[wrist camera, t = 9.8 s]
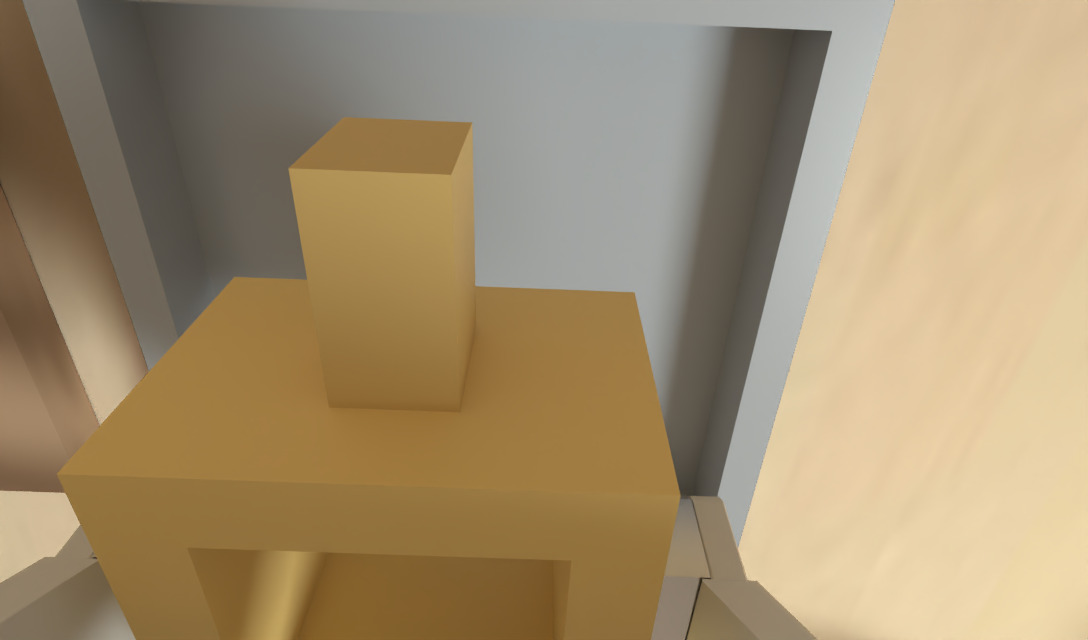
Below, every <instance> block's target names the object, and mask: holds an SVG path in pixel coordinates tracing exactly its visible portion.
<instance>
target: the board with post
mask: <svg viewBox="0 0 1088 640" xmlns="http://www.w3.org/2000/svg"><path fill="white" fill-rule="evenodd" d="M98 428H99V423H98V421H97V418H96V416H95V414H94V411H93V409H92V406H91V404H90V401H89V399H88V397H87V394H86V392H85V389H84V387H83V384H82V382H81V380H80V377H79V375H78V372H77V370H76V367H75V365H74V363H73V360H72V358H71V355H70V353H69V350H68V348H67V346H66V343H65V341H64V338H63V336H62V333H61V331H60V329H59V326H58V324H57V321H56V319H55V316H54V314H53V312H52V309H51V307H50V304H49V302H48V300H47V297H46V295H45V292H44V290H43V287H42V285H41V283H40V280H39V278H38V275H37V273H36V270H35V268H34V266H33V263H32V261H31V258H30V256H29V253H28V251H27V249H26V246H25V244H24V241H23V239H22V236H21V234H20V232H19V229H18V227H17V224H16V222H15V219H14V217H13V215H12V212H11V210H10V207H9V205H8V202H7V200H6V198H5V195H4V193H3V190H2V188H1V185H0V490H2V491H32V492H61V493H65V491H64V489H63V487H62V485H61V482H60V480H59V478H58V476H57V473H58V472H59V471H60V470H61V469H62V467H63V466H64V465H65V464H66V463H67V462H68V461H69V460H70V459H71V457H72V456H73V455H74V454H75V453H76V452H77V451H78V450H79V449H80V447H81V446H82V445H83V444H84V443H85V442H86V441H87V440H88V439H89V438H90V436H91V435H92V434H93V433H94V432H95V431H96V430H97V429H98Z"/></svg>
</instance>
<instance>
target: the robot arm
mask: <svg viewBox="0 0 1088 640" xmlns="http://www.w3.org/2000/svg"><path fill="white" fill-rule="evenodd" d="M0 640H136V639H135V637H134V635H133V632H132V630H131V628H130V626H129V624H128V622H127V620H126V618H125V616H124V614H123V612H122V610H121V607H120V605H119V603H118V601H117V599H116V597H115V595H114V593H113V591H112V589H111V587H110V585H109V582H108V580H107V578H106V576H105V574H104V572H103V570H102V568H101V566H100V564H99V562H98V560H97V557H96V555H95V553H94V551H93V549H92V547H91V545H90V543H89V541H88V539H87V537H86V535H85V532H84V530H83V528H82V526H81V525H80V526H79V527H78V529H77V530H76V531H75V532H74V534H73V535H72V536H71V537H70V539H69V540H68V541H67V542H66V544H65V545H64V546H63V548H62V549H61V550H60V551H59V553H58V554H57V555H56V556H55V557H44V558H43V559H41V560H39V561H37V562H36V563H34V564H32V565H31V566H29V567H27V568H26V569H24V570H22V571H20V572H19V573H17V574H15V575H14V576H12V577H10V578H8V579H7V580H5V581H3V582H2V583H0ZM651 640H818V639H817V638H816V637H815V636H814V635H813V634H812V633H810V632H809V631H808V630H807V629H806V628H805V627H804V626H803V625H802V624H801V623H800V622H799V621H798V620H797V619H796V618H795V617H794V616H793V615H792V614H791V613H790V612H789V611H788V610H787V609H785V608H784V607H783V606H782V605H781V604H780V603H779V602H778V601H777V600H776V599H775V598H774V597H773V596H772V595H771V594H770V593H769V592H768V591H767V590H766V589H765V588H764V587H763V586H761V585H760V584H759V583H758V582H757V581H749V580H747V577H746V574H745V571H744V567H743V564H742V561H741V558H740V554H739V551H738V548H737V544H736V541H735V538H734V535H733V531H732V528H731V525H730V521H729V518H728V515H727V512H726V508H725V505H724V502H723V500H722V499H721V498H720V497H713V496H689V497H688V496H681V497H680V501H679V506H678V511H677V516H676V521H675V526H674V530H673V535H672V540H671V545H670V550H669V555H668V560H667V564H666V569H665V574H664V579H663V584H662V589H661V593H660V598H659V603H658V608H657V613H656V618H655V622H654V627H653V632H652V637H651Z"/></svg>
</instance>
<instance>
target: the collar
mask: <svg viewBox="0 0 1088 640" xmlns="http://www.w3.org/2000/svg"><path fill="white" fill-rule="evenodd" d="M288 169H289V175H290V181H291V187H292V192H293V198H294V204H295V210H296V216H297V222H298V228H299V234H300V239H301V245H302V251H303V257H304V263H305V269H306V275H307V280H302V279H276V278H250V277H234V278H233V279H232V280H231V281H230V283H229V284H228V285H227V286H226V287H225V288H224V289H223V290H222V291H221V293H220V294H219V295H218V296H217V297H216V298H215V299H214V300H213V301H212V302H211V304H210V305H209V306H208V307H207V308H206V309H205V310H204V311H203V312H202V314H201V315H200V316H199V317H198V318H197V319H196V320H195V321H194V322H193V324H192V325H191V326H190V327H189V328H188V329H187V330H186V331H185V332H184V333H183V335H182V336H181V337H180V338H179V339H178V340H177V341H176V342H175V343H174V345H173V346H172V347H171V348H170V349H169V350H168V351H167V352H166V353H165V354H164V356H163V357H162V358H161V359H160V360H159V361H158V362H157V363H156V364H155V366H154V367H153V368H152V369H151V370H150V371H149V372H148V373H147V374H146V376H145V377H144V378H143V379H142V380H141V381H140V382H139V383H138V384H137V385H136V387H135V388H134V389H133V390H132V391H131V392H130V393H129V394H128V395H127V397H126V398H125V399H124V400H123V401H122V402H121V403H120V404H119V405H118V407H117V408H116V409H115V410H114V411H113V412H112V413H111V414H110V415H109V416H108V418H107V419H106V420H105V421H104V422H103V423H102V424H101V425H100V426H99V428H98V429H97V430H96V431H95V432H94V433H93V434H92V435H91V436H90V438H89V439H88V440H87V441H86V442H85V443H84V444H83V445H82V446H81V447H80V449H79V450H78V451H77V452H76V453H75V454H74V455H73V456H72V457H71V459H70V460H69V461H68V462H67V463H66V464H65V465H64V466H63V467H62V469H61V470H60V471H59V472H58V473H57V476H58V478H59V480H60V482H61V485H62V487H63V489H64V491H65V493H66V495H67V497H68V499H69V501H70V503H71V505H72V507H73V510H74V512H75V514H76V516H77V518H78V520H79V522H80V524H81V526H82V528H83V530H84V532H85V535H86V537H87V539H88V541H89V543H90V545H91V547H92V549H93V551H94V553H95V555H96V557H97V560H98V562H99V564H100V566H101V568H102V570H103V572H104V574H105V576H106V578H107V580H108V582H109V585H110V587H111V589H112V591H113V593H114V595H115V597H116V599H117V601H118V603H119V605H120V607H121V610H122V612H123V614H124V616H125V618H126V620H127V622H128V624H129V626H130V628H131V630H132V632H133V635H134V637H135V639H136V640H651V637H652V632H653V627H654V622H655V618H656V613H657V608H658V603H659V598H660V593H661V589H662V584H663V579H664V574H665V569H666V564H667V560H668V555H669V550H670V545H671V540H672V535H673V530H674V526H675V521H676V516H677V511H678V506H679V501H680V497H681V495H680V491H679V486H678V482H677V478H676V473H675V469H674V464H673V460H672V456H671V451H670V447H669V442H668V438H667V433H666V429H665V425H664V420H663V416H662V411H661V407H660V403H659V398H658V394H657V389H656V385H655V380H654V376H653V372H652V367H651V363H650V358H649V354H648V350H647V345H646V341H645V336H644V332H643V328H642V323H641V319H640V314H639V310H638V305H637V301H636V297H635V292H615V291H589V290H562V289H536V288H510V287H484V286H475V236H474V183H473V130H472V122H450V121H426V120H402V119H377V118H353V117H344V118H342V119H341V120H340V121H339V122H338V123H337V124H336V125H335V126H334V127H333V128H332V129H331V130H329V131H328V132H327V133H326V134H325V135H324V136H323V137H322V138H321V139H320V140H319V141H317V142H316V143H315V144H314V145H313V146H312V147H311V148H310V149H309V150H308V151H307V152H306V153H304V154H303V155H302V156H301V157H300V158H299V159H298V160H297V161H296V162H295V163H294V164H292V165H291V166H290V167H289V168H288Z"/></svg>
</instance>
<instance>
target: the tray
mask: <svg viewBox="0 0 1088 640" xmlns="http://www.w3.org/2000/svg"><path fill="white" fill-rule="evenodd" d="M22 1H23V4H24V7H25V10H26V13H27V16H28V19H29V22H30V24H31V27H32V30H33V33H34V36H35V39H36V42H37V45H38V48H39V51H40V54H41V57H42V60H43V63H44V65H45V68H46V71H47V74H48V77H49V80H50V83H51V86H52V89H53V92H54V95H55V98H56V101H57V104H58V106H59V109H60V112H61V115H62V118H63V121H64V124H65V127H66V130H67V133H68V136H69V139H70V142H71V145H72V147H73V150H74V153H75V156H76V159H77V162H78V165H79V168H80V171H81V174H82V177H83V180H84V183H85V186H86V188H87V191H88V194H89V197H90V200H91V203H92V206H93V209H94V212H95V215H96V218H97V221H98V224H99V227H100V229H101V232H102V235H103V238H104V241H105V244H106V247H107V250H108V253H109V256H110V259H111V262H112V265H113V268H114V270H115V273H116V276H117V279H118V282H119V285H120V288H121V291H122V294H123V297H124V300H125V303H126V306H127V309H128V311H129V314H130V317H131V320H132V323H133V326H134V329H135V332H136V335H137V338H138V341H139V344H140V347H141V350H142V352H143V355H144V358H145V361H146V364H147V367H148V370H149V371H150V370H151V369H152V368H153V367H154V366H155V364H156V363H157V362H158V361H159V360H160V359H161V358H162V357H163V356H164V354H165V353H166V352H167V351H168V350H169V349H170V348H171V347H172V346H173V345H174V343H175V342H176V341H177V340H178V339H179V338H180V337H181V336H182V335H183V333H184V332H185V331H186V330H187V329H188V328H189V327H190V326H191V325H192V324H193V322H194V321H195V320H196V319H197V318H198V317H199V316H200V315H201V314H202V312H203V311H204V310H205V309H206V308H207V307H208V306H209V305H210V304H211V302H212V301H213V300H214V299H215V298H216V297H217V296H218V295H219V294H220V293H221V291H222V290H223V289H224V288H225V287H226V286H227V285H228V284H229V283H230V281H231V280H232V279H233V278H234V277H250V278H276V279H302V280H307V275H306V269H305V263H304V257H303V251H302V245H301V239H300V234H299V228H298V222H297V216H296V210H295V204H294V198H293V192H292V187H291V181H290V175H289V169H288V168H289V167H290V166H291V165H292V164H294V163H295V162H296V161H297V160H298V159H299V158H300V157H301V156H302V155H303V154H304V153H306V152H307V151H308V150H309V149H310V148H311V147H312V146H313V145H314V144H315V143H316V142H317V141H319V140H320V139H321V138H322V137H323V136H324V135H325V134H326V133H327V132H328V131H329V130H331V129H332V128H333V127H334V126H335V125H336V124H337V123H338V122H339V121H340V120H341V119H342V118H344V117H353V118H377V119H402V120H426V121H450V122H472V130H473V183H474V236H475V286H484V287H510V288H536V289H562V290H589V291H615V292H635V297H636V301H637V305H638V310H639V314H640V319H641V323H642V328H643V332H644V336H645V341H646V345H647V350H648V354H649V358H650V363H651V367H652V372H653V376H654V380H655V385H656V389H657V394H658V398H659V403H660V407H661V411H662V416H663V420H664V425H665V429H666V433H667V438H668V442H669V447H670V451H671V456H672V460H673V464H674V469H675V473H676V478H677V482H678V486H679V491H680V495H681V496H688V497H689V496H713V497H720V498H721V499H722V500H723V502H724V505H725V508H726V512H727V515H728V518H729V521H730V525H731V528H732V531H733V535H734V538H735V541H736V544H737V548H738V546H739V542H740V539H741V536H742V532H743V529H744V525H745V522H746V518H747V515H748V511H749V508H750V504H751V501H752V497H753V494H754V490H755V487H756V483H757V480H758V476H759V473H760V469H761V466H762V462H763V459H764V455H765V452H766V448H767V445H768V441H769V438H770V434H771V431H772V428H773V424H774V421H775V417H776V414H777V410H778V407H779V403H780V400H781V396H782V393H783V389H784V386H785V382H786V379H787V375H788V372H789V368H790V365H791V361H792V358H793V354H794V351H795V347H796V344H797V340H798V337H799V333H800V330H801V327H802V323H803V320H804V316H805V313H806V309H807V306H808V302H809V299H810V295H811V292H812V288H813V285H814V281H815V278H816V274H817V271H818V267H819V264H820V260H821V257H822V253H823V250H824V246H825V243H826V239H827V236H828V232H829V229H830V225H831V222H832V219H833V215H834V212H835V208H836V205H837V201H838V198H839V194H840V191H841V187H842V184H843V180H844V177H845V173H846V170H847V166H848V163H849V159H850V156H851V152H852V149H853V145H854V142H855V138H856V135H857V131H858V128H859V124H860V121H861V118H862V114H863V111H864V107H865V104H866V100H867V97H868V93H869V90H870V86H871V83H872V79H873V76H874V72H875V69H876V65H877V62H878V58H879V55H880V51H881V48H882V44H883V41H884V37H885V34H886V30H887V27H888V23H889V20H890V16H891V13H892V10H893V6H894V3H895V0H22Z"/></svg>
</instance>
